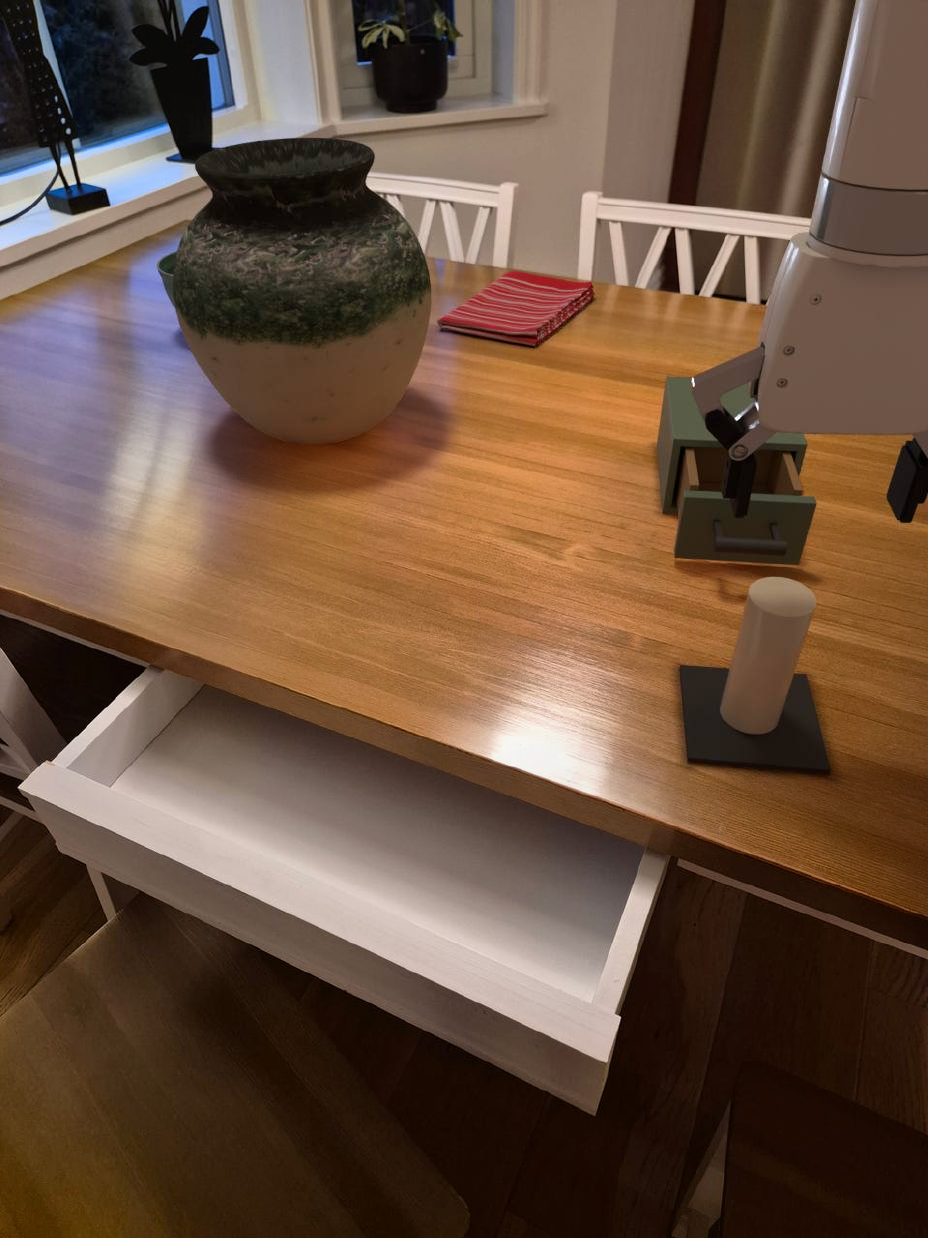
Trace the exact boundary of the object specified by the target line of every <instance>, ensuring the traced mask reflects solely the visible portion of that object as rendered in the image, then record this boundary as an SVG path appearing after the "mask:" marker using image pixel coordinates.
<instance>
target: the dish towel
mask: <svg viewBox="0 0 928 1238" xmlns="http://www.w3.org/2000/svg"><path fill="white" fill-rule="evenodd" d="M594 287H595V286H594V285H593V282H592V281H591V280H590V281H573V280H566V279H563V278H557V277H551V276H547V275H546V276H545V275H539V274H535V273H528V272H524V271H517V270H512V271H507V272H505V273H503V274H502V275H501V276H500V277H499V278H497V279H496V280H494V281H493V282H491V283H490V284H489V285H487V286H486V287H484V288H483V289H482V290H481V291H479V292H478V293H476V294H475V295H473V296H472V297H470V298H469V299H467V300H466V301H465V302H463V303H462V304H460V305H458V307H456V308H454V309H452V310H451V311H449V312H448V313H446V314H443V316H442V317H440V318H439V319H437V320H436V322H437V324H438V326H439V327H440V329H443V330H447V331H453V332H457V333H461V334H467V335H474V336H478V337H483V338H488V339H494V340H498V341H504V342H509V343H514V344H521V345H526V346H529V347H536V346H537V345H539V344H540V343H542V342H543V341H544V340H545V339H546V338H547V337H549V336H550V334H551V333H553V332H555V331H556V330H557V329H558V328H559V327H560V326H561V325H563V324H564V323H565V322H567V321H568V320H570V319H571V317H573V316H574V315H576V314H577V312H579V311H580V310H581V309H583V308H584V307H585V306H586V305H587V304H589V303H590V302H591V301H592V300H594V298H595V295H596V293H595V292H594Z"/></svg>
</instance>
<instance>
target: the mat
mask: <svg viewBox="0 0 928 1238" xmlns="http://www.w3.org/2000/svg"><path fill="white" fill-rule="evenodd" d="M729 668H730V667H729ZM729 668H728V667H716V666H714V667H713V666H702V665H687V664H680V665H679V669H678V671H679V672H678V673H679V683H680V694H681V695H680V696H681V704H682V706H681V707H682V716H683V727H684V728H683V729H684V738H685V739H684V740H685V750H686V761H687V763H688V764H700V765H710V766H720V767H721V766H722V767H731V768H732V767H733V768H743V769H756V770H767V771H778V772H779V771H780V772H790V773H800V774H801V773H802V774H814V775H824V776H830V774H831V771H832V768H831V764H830V759H829V757H828V753H827V749H826V744H825V741H824V736H823V733H822V729H821V725H820V721H819V717H818V713H817V710H816V706H815V701H814V698H813V697H814V696H813V693H812V690H811V687H810V683H809V679H808V678H809V677H808V675H807V673H799V672H795V673H794V676H793V679H792V682H791V685H790V688H789V691H788V695H787V698H786V701H785V704H784V707H783V710H782V713H781V717H780V720H779V723H778V725H777V726H776V728H774V729H773V730H772V731H770V732H768V733H764V734H748V733H744V732H741V731H738V730H736V729H734V728H733V727H731V726H730V725H729V724H727V723H726V722H725V720H724V719H723V717H722V716H721V713H720V704H721V700H722V696H723V692H724V688H725V684H726V680H727V676H728V672H729Z"/></svg>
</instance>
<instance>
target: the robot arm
mask: <svg viewBox="0 0 928 1238" xmlns="http://www.w3.org/2000/svg"><path fill="white" fill-rule="evenodd" d="M854 4H855V5H854V6H853V7H854V8H853V12H852V18H851V23H850V29H849V32H848V38H847V43H846V46H845V47H846V48H845V54H844V58H843V63H842V68H841V72H840V77H839V83H838V88H837V93H836V97H835V102H834V107H833V112H832V116H831V121H830V126H829V131H828V134H827V135H828V136H827V141H826V145H825V153H824V155H823V160H822V163H821V171H820V174H819V175H820V176H819V179H818V184H817V189H816V194H815V200H814V205H813V208H812V214H811V219H810V223H809V229H808V231H806V232H805V231H804V232H803V231H802V232H797V233H796V234H793V235H792V236H791V237H790V240H789V242H788V245H787V247H786V250H785V251H784V253H783V256H782V259H781V262H780V265H779V268H778V270H777V274H776V276H775V280H774V283H773V285H772V289H771V292H770V295H769V299H768V301H767V306H766V309H765V313H764V317H763V321H762V323H761V327H760V331H759V335H758V339H757V344H756V347H755V348H754V349H751V350H750V351H747V352H745V353H743V354H741V355H738V356H736V357H733V358H731V359H728V360H726V361H725V362H722V363H720V364H717V365H715V366H713V367H712V368H709V369H707V370H705V371H702V372H700V373H697V374H695V375H694V376H692V377H693V378H692V379H691V382H690V384H691V390H692V395H693V397H694V400H695V402H696V404H697V407H698V409H699V411H700V414H701V416H702V418H703V420H704V423H705V425H706V428H707V430H708V431H709V432H710V433H711V434H712V435H713V436H714V437H715V438H716V439H717V440H718V442H719V443H720V444H721V445H722V446H723V447H724V448H725V449H726V450H727V456H726V462H725V468H724V474H723V480H722V497H723V499H730V501H731V506H732V510H733V515H734V518H743V517H744V516H747V513H748V508H749V503H750V498H751V493H752V488H753V483H754V478H755V473H756V467H757V462H756V458H755V455H754V451H755V450H757V449H758V448H759V447H760V446H761V445H762V444H764V443H765V442H766V441H767V440H768V439H770V438H771V437H772V436H773V435H774V434H776V433H777V432H780V433H793V434H804V435H833V436H834V435H837V436H838V435H842V436H910V435H911V436H912V437H913V438H912V440H905V444H902V445H901V448H900V451H899V454H898V457H897V460H896V463H895V467H894V470H893V473H892V476H891V479H890V482H889V486H888V489H887V491H886V500H887V503H888V505H889V506H890V509H891V510H892V513H893V515H894V517H895V519H896V521H898V522H899V523H900V524H911V523H912V522H913V520H914V518H915V514H916V512H917V508H918V506H919V505H922V504H925V502H926V500H927V498H928V0H855V3H854ZM746 383H749V393H750V398H754V399H755V401H754V402H753V403H751V404H750V405H749V406H748V407H747V408H746V409H745V410H743V411H742V412H741V413H740V414H739V415H738V416H737V417H736V418H734V417H733V416H732V415H731V414H730V413H729V412H728V411H727V410H726V409H725V408H724V407H723V406H722V404H721V401H720V397H721V396H722V395H723V394H724V393H726V392H728V391H730V390H733V389H735V388H737V387H740V386H742V385H744V384H746Z"/></svg>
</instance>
